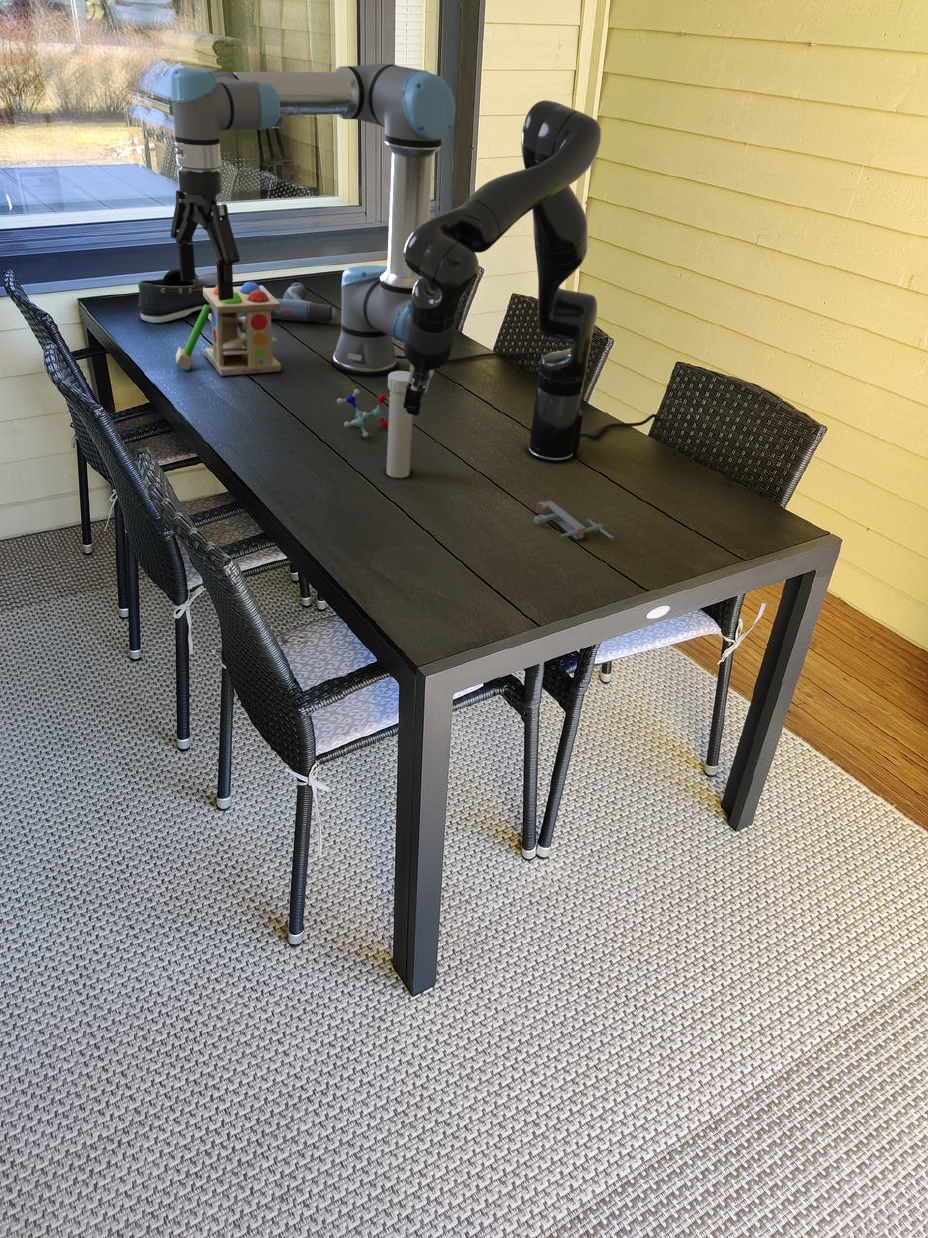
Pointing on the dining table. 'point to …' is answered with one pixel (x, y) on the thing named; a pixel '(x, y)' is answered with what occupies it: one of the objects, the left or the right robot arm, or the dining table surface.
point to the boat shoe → (173, 296)
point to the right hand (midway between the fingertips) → (419, 392)
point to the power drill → (301, 307)
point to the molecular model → (360, 415)
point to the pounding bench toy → (229, 347)
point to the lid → (398, 381)
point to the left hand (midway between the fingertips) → (206, 289)
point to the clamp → (565, 520)
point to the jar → (398, 437)
